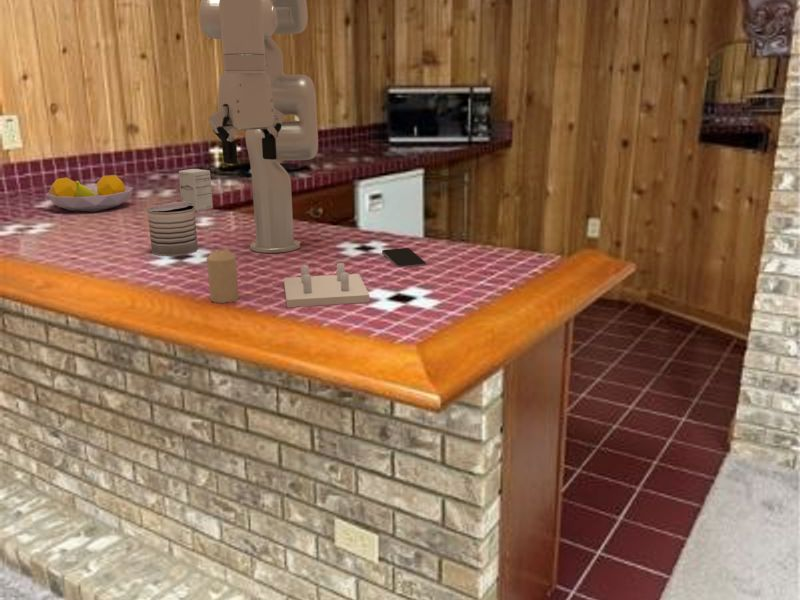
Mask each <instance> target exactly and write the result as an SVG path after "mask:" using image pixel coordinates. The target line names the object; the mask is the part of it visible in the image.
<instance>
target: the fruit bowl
mask: <svg viewBox="0 0 800 600" xmlns="http://www.w3.org/2000/svg"><path fill="white" fill-rule="evenodd" d="M133 190H134V187H131V186H127V185H125V184H124V182H123V181H122V180H121V178H119V177H118V176H117V175H116V174H111V175H109V174H108V175H103V176H102V177H101V178H100V179H99V180H98V181H97V183H96V184H93V185H91V184H90V185H84V184H81V183H80V181H79V180H75V181H74V180H73V179H70V178H69V177H59V178H56V179H55V181H54V182H53V183H52V184H51V186H50V189H49V191H48V192H47V193H45V195H46V196H47V198H48V199H49V200H50V201H51V202H52V203H53V205H55V206H56V207H60V208H62V209H65V210H68V211H71V212H98V211H99V212H100V211H104V210H108V209H114V208H117V207H118V206H120V205H121V204H123V203H125V202H126V201H129V200H130V198H131V197H132V192H133Z"/></svg>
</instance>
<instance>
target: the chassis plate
mask: <svg viewBox="0 0 800 600" xmlns="http://www.w3.org/2000/svg"><path fill="white" fill-rule="evenodd" d="M309 269H310V266H309V264H301V265H300V276H294V277H283V286H284V287H283V288H284V292H285V293H284V294H285V295H284V296H285V303H286V308H298V307H297V306H301V307H317V306H329V305H332V306H333V305H346V304H347V305H348V304H363V303H364V304H365V303H370V301H371V300H370V299H371V298H370V293H369V291H368V289H367V288H366V285H365V284H364V281H363V279H362V277H361V275H360V274H359V273H349V272H347V271H345V263H344V262H339V263H336V274H333V275H331V274H330V275H329V274H328V275H314V276H312V275H311V274H310V273H309V272H310V270H309Z"/></svg>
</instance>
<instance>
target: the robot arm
mask: <svg viewBox="0 0 800 600" xmlns="http://www.w3.org/2000/svg"><path fill="white" fill-rule="evenodd" d="M308 15H309V14H308V5H307V0H201V1H200V3H199V9H198V21H199V26H200V28H201V31H202V32H203V34H204V35H205V36H206V37H208V38H209V39H215V40H221V50H222V65H223V73H220V76H219V81H218V92H217V93H218V95H217V111H215V112H214V113H212V114H210V116H209V117H208V121H209V124H210V126H211V128H212V131H213V133H214V134H215V135H216V137H218V140H219V142H221V147H222V158H223V163H224V164H225V165H226V164H227V165H228V164H229V165H236V164H238V161H239V160H238V147H237V141H236V140H235V137H236V135H237V133H238V132H239V131H245V135H244V136H245V145H246V148H247V153H248V158H249V163H250V164H249V165H250V172H251V184H252V195H253V196H252V198H253V200H252V201H253V213H254V214H253V215H254V227H255V228H254V230H255V241H253V242H251V243H250V245H249V246H250V247H249V248H250V250H251V251H252V252H257V253H263V254H275V253H276V254H277V253H287V252H292V251H295V250H298V249H299V248H300V247H301V242H300V241H299V240H297V239H294V238H295V237H294V219H293V217H294V216H293V199H292V198H293V197H292V195H293V194H292V180H291V177H290V174H289V173H288V171H287V170H286V169H285V167H283V165H281V164H280V162H282V161H283V162H284V161H308V160H313V159H314V158H315V157H316V156H317V154H318V151H319V150H318V149H319V136H318V135H319V134H318V132H319V131H318V115H317V114H318V113H317V110H318V109H317V94H316V89H315V84H314V82H313V80H312V78H311V77H309V76H308V75H305V74H286V73H285V71H284V55H283V51H282V50H281V49H280V47H279V45H278V44H277V43H276V42H275V40H274V39H273V38H272V36H273V35H286V34H287V35H296V34H301V33H303V32H304V31H305V29H307V25H308V19H309V18H308ZM285 116H295V117H297V118H298V119H299V120H284V118H285ZM234 140H235V141H234Z"/></svg>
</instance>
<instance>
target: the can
mask: <svg viewBox="0 0 800 600" xmlns="http://www.w3.org/2000/svg"><path fill="white" fill-rule="evenodd" d="M192 204H195V203H193V202H191V201H187V202H181V201H174V202H173V201H172V202H168V203H163V204H161V203H160V204H156V205H154V206H150V207H148V208H146V210H147V219H148V228H149V236H150V245H151V247H150V248H151V253H152V254H153V255H155V256H158V257H178V256H187V255H190V254H194V253H196V252H197V251H198V250H199V247H198V238H197V235H198V234H197V224H196V213H195V212H196V211H194V206H191V205H192Z"/></svg>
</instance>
